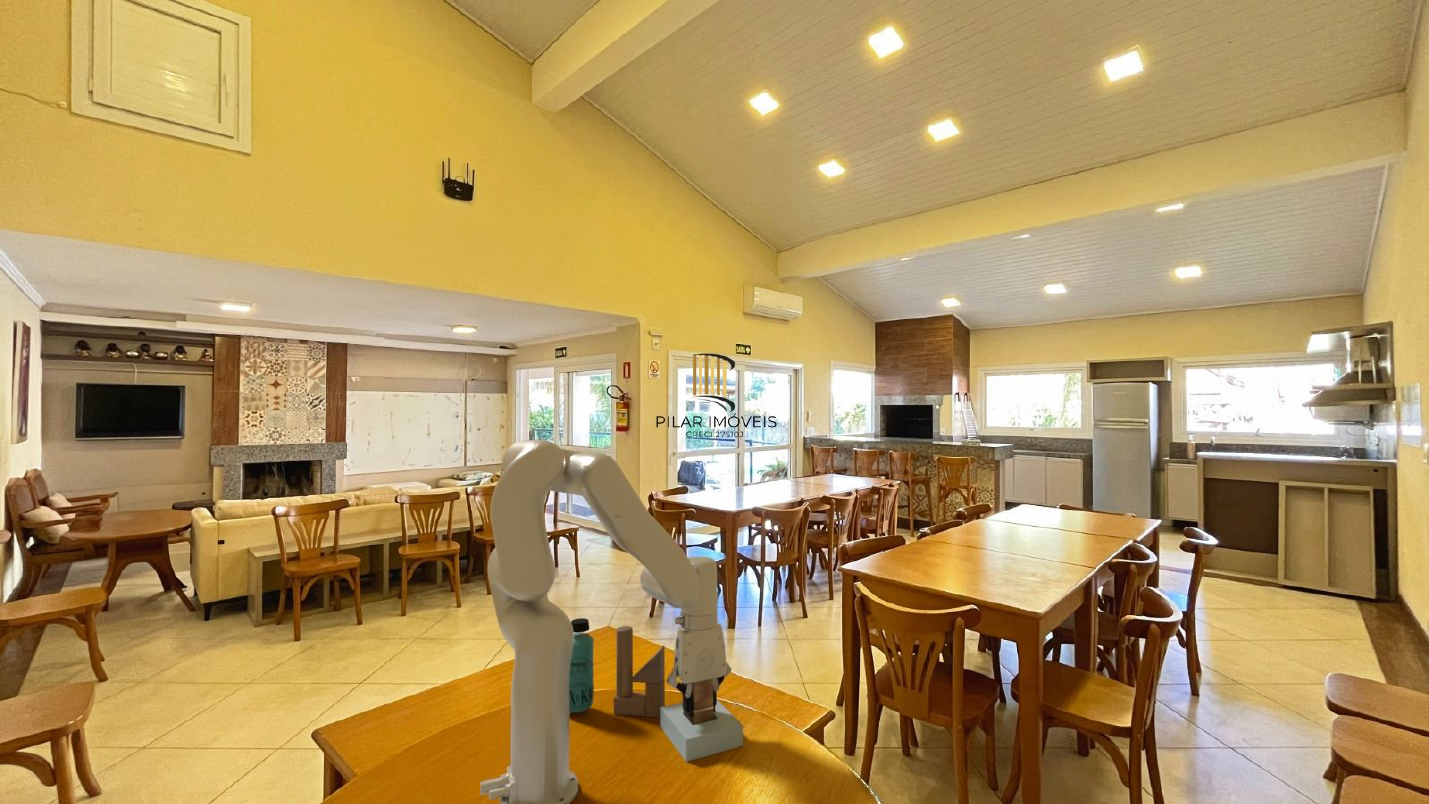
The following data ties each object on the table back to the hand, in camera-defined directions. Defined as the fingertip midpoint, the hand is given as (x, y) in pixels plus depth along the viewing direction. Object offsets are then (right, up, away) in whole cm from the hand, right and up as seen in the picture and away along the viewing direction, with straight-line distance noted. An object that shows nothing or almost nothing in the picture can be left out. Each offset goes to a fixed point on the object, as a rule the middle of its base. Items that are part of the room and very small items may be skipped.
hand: (699, 711), depth 113 cm
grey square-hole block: (0, -5, 0) cm, 5 cm away
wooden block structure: (-14, -6, +10) cm, 18 cm away
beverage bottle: (-27, -6, +10) cm, 29 cm away
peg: (0, -3, 0) cm, 3 cm away
